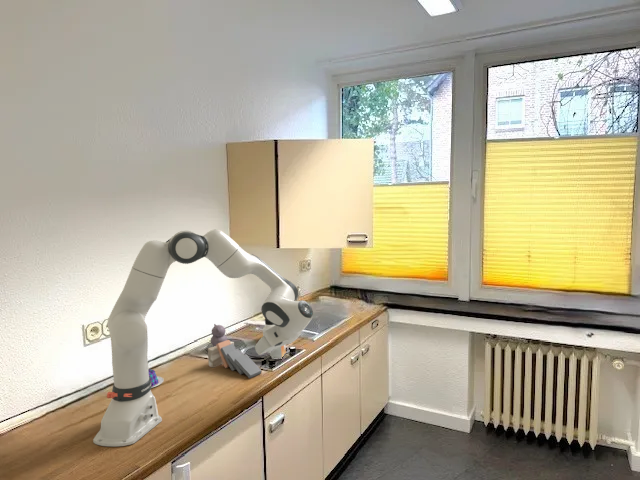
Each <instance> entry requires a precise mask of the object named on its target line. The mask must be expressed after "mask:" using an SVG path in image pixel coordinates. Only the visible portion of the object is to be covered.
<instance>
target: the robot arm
mask: <svg viewBox="0 0 640 480" xmlns="http://www.w3.org/2000/svg"><path fill="white" fill-rule="evenodd" d="M203 258H206V259H207V260H208V261H210V262H211V263H212V264H213V265H214V266H215V267H216V268H217V270H219V272H221V274H222V275H224V276H226V277H227V278H230V279H240V278H242V277H245V276H246V275H254V276H255V277H258V278H259V279H260V280H261V281H263V283H265V284H266V285H267V286H268V287H269V288H270V292H269V294H268V296H267V297H266V299H265V300H264V302H263V304H262V306H261V314H262V316H263V318H264V319H265V318H266V319H267V320H268V321H269V322H270V323H272V324H274V325H275V326H274V327H272V328H270V329H268V330H267V331H265V332H264V336H262V337H261V338H260V339H259V340H258V341H257V342H256V344H255V345H254V350H255V353H257V355H258V356H261V355H263V354H266V353H267V354H270V352H273V351H274V350H275V349H277V348H279V347H281V346H284V345H286V346H287V345H290V344H292V343H293V342H296V340H297V339H298V338H299V337H300V336H301V334H302V332H303V331H304V330H305V329H306V328H307V326H308V325H309V324H310V322H311V321H312V319H313V315H314V312H313V308H312V306H311V305H310V303H309V302H307V301H305V300H297V299H298V298H299V290H298V288H297V286H296V285H295V284H294V283H293V282H291V280H288V279H287V278H284V277H283V276H282V275H281V274H279V273H278V272H277V271H276V270H275V269H274V268H272V267H271V266H270V265H269V264H268V263H266V262H265V261H264V260H263V259H261V258H260V257H258V256H257V255H255V254H253V253H248V252H247V251H246V250H245V249H244V248H243V247H241V246H240V245H239V244H238V242H236V241H235V240H234V239H233V238H232V237H230V236H229V235H228V234H227V233H226V232H224V231H223V230H221V229H212V230H210V231H207V232H206V233H205V234H204V235H200V234H196V233H195V232H194V231H191V230H181V231H179V232H177V233H175V234H174V235H173V236H171V238H169V239H168V240H166V241H165V242H164V241H161V240H160V241H159V240H149V241H147V242H145V243H144V244H143V246H142V248H141V249H140V250H139V252H138V253H137V256H136V258H135V260H134V262H133V264H132V267H131V269H130V272H129V274H128V277H127V279H126V281H125V284H124V286H123V288H122V291H121V293H120V294H119V296H118V298H117V300H116V302H115V304H114V306H113V308H112V310H111V312H110V314H109V315H108V319H107V324H106V325H107V328H108V332H109V336H110V343H111V345H110V347H111V364H112V366H111V367H112V375H113V385H112V389H111V391H108V392H107V393H106V398H107V399H111V401H110V402H109V404H108V406H107V408H106V411H105V412H104V414H103V417H102V418H101V422H100V429H99V431H98V432H97V433H96V435H94V438H93V439H92V441H93V442H92V443H93V444H95V445H97V446H102V447H124V446H130V445H133V444H135V443H136V442H138V441H139V440H140V439H141V438H142V437H144V436H145V435H146V434H147V433H149V432H150V431H151V430H152V429H154V428H155V427H156V426H157V425H159V424H160V423H161V422H162V421H163V419H162V416H161V415H159V411H158V405H157V401H156V397H155V395H154V394H153V392H152V390H151V389H152V388H151V379H150V377H149V362H148V361H149V360H148V347H149V345H148V340H149V339H148V337H149V336H148V326H147V324H146V321H145V319H146V316H147V314H148V312H149V310H150V309H151V307H152V305H153V304H154V303H155V301H156V300H157V298H158V296H159V293H160V291H161V288H162V285H163V283H164V281H165V277H166V275H167V273H168V270H169V268H170V266H171V265H173V263H175V262H177V263H179V264H185V265H188V264H193V263H194V262H197V261H199V260H200V259H203Z"/></svg>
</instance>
